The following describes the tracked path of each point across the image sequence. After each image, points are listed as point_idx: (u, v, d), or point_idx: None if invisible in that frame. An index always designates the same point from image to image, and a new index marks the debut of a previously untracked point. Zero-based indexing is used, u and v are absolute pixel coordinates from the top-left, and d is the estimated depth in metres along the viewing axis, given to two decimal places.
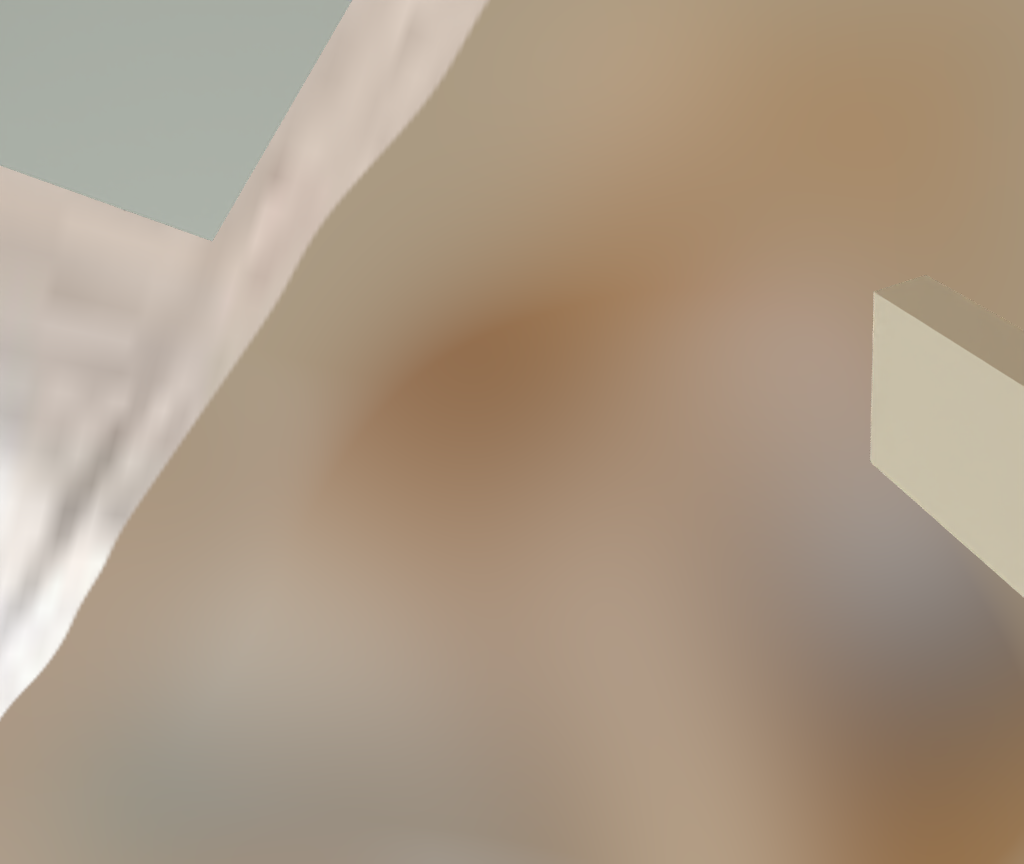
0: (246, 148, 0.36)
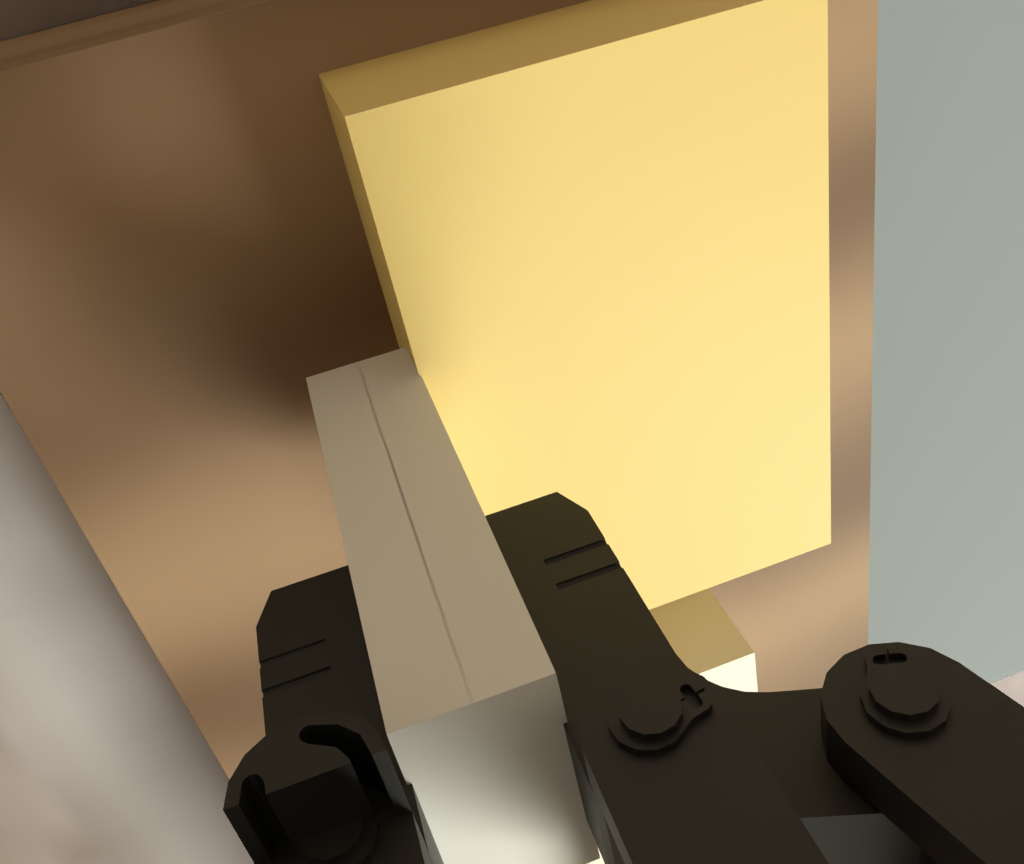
0: None
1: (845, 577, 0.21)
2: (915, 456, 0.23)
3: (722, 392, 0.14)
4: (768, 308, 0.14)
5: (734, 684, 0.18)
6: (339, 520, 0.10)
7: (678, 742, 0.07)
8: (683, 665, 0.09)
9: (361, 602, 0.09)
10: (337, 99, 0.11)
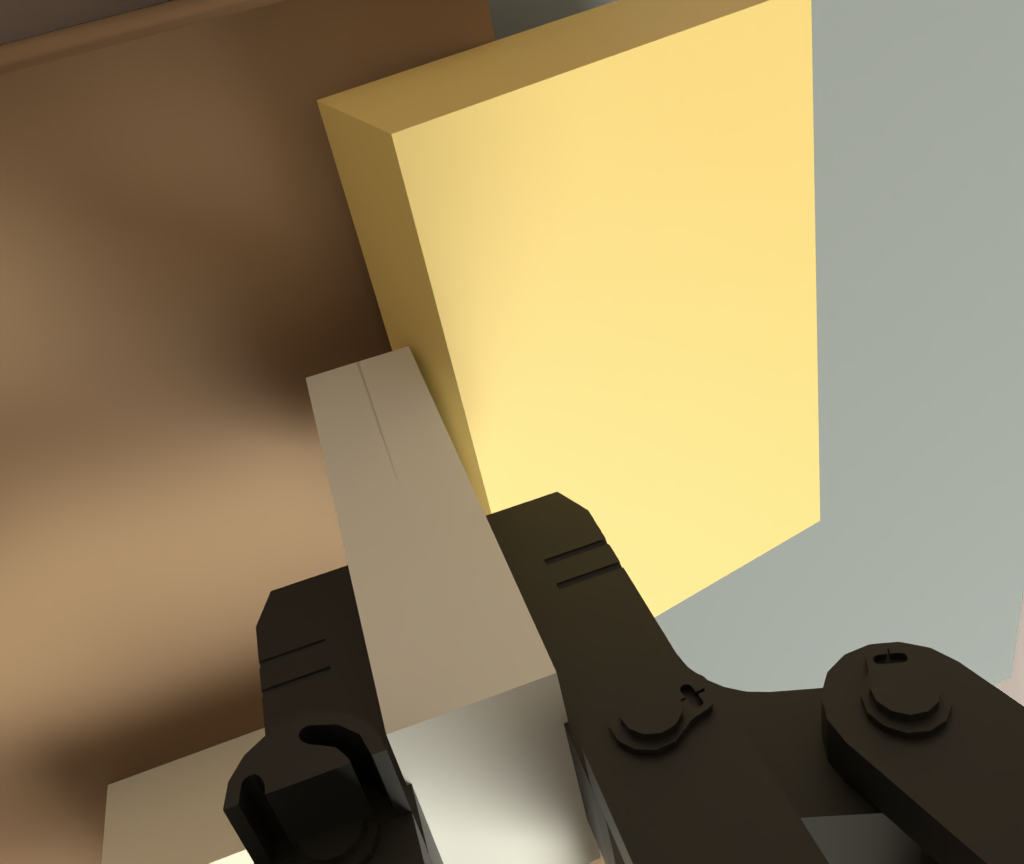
0: (1005, 580, 0.26)
1: None
2: None
3: (729, 384, 0.15)
4: (767, 298, 0.14)
5: None
6: (339, 521, 0.10)
7: (679, 742, 0.07)
8: (684, 665, 0.09)
9: (361, 603, 0.09)
10: (365, 120, 0.11)
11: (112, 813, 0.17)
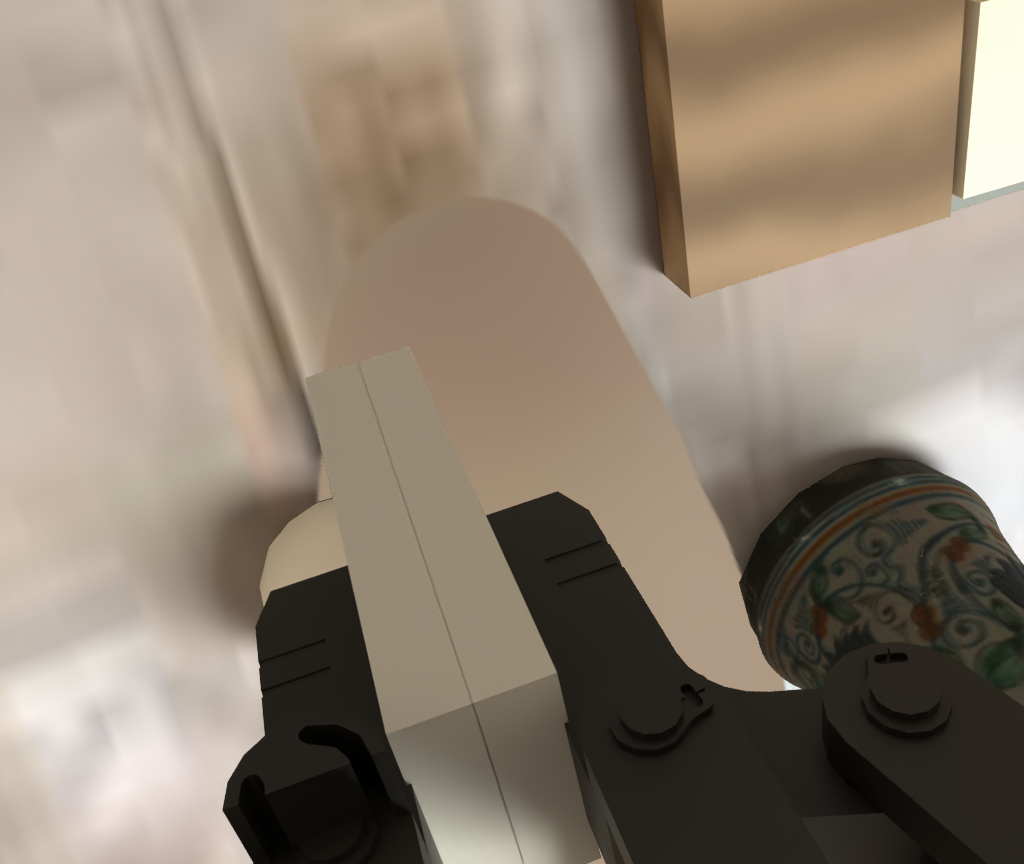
0: None
1: (950, 49, 0.43)
2: None
3: None
4: None
5: None
6: (339, 521, 0.10)
7: (679, 742, 0.07)
8: (684, 665, 0.09)
9: (360, 603, 0.09)
10: None
11: None
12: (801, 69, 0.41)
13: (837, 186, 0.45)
